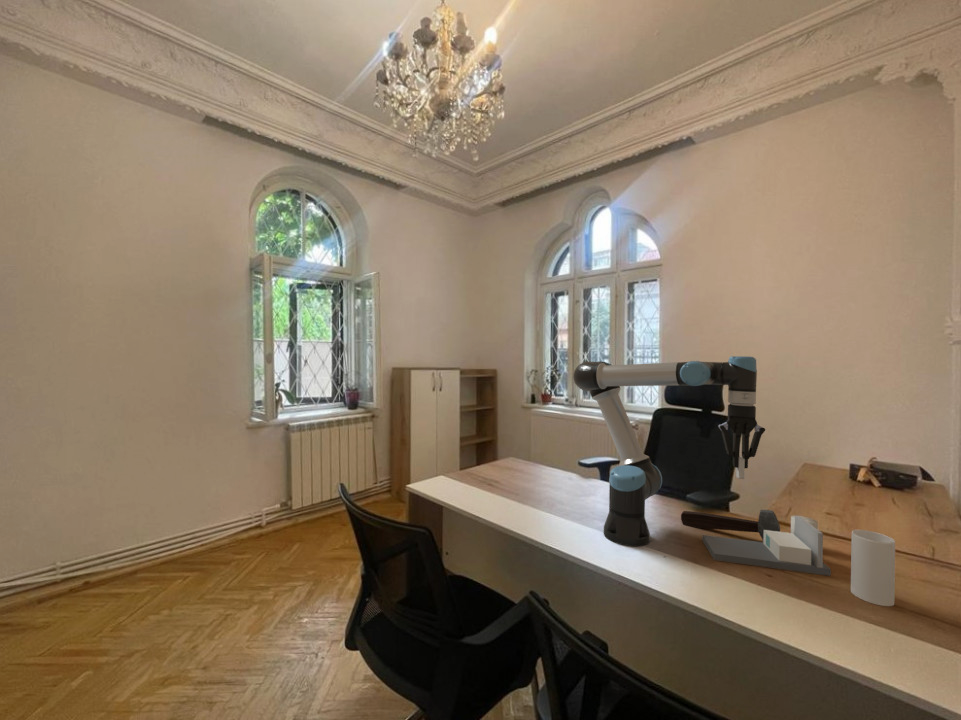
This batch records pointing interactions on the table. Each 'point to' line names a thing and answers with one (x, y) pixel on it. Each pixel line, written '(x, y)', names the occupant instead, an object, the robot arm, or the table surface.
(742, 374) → the robot arm
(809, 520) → the cream white shapes
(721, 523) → the hammer
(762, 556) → the grey base with uprights
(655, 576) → the table surface
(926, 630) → the table surface
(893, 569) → the cup
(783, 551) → the carton
